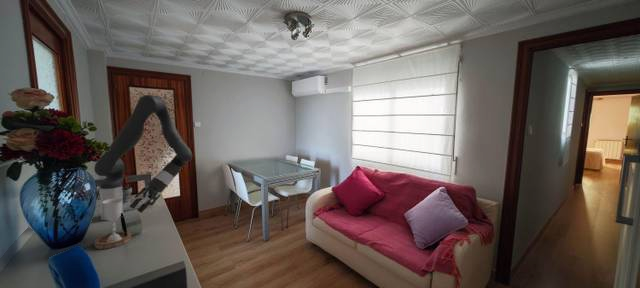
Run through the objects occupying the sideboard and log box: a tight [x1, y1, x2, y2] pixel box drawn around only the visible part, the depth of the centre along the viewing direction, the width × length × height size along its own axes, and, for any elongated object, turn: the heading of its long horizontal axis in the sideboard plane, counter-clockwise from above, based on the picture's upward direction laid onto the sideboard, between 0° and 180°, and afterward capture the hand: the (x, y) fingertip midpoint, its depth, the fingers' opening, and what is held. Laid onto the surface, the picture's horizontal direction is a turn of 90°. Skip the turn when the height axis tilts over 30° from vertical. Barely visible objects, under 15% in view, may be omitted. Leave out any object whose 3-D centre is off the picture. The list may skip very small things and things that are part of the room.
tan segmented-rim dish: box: [93, 230, 132, 250], centre depth 105 cm, size 12×12×2 cm
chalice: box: [102, 198, 124, 243], centre depth 104 cm, size 7×7×18 cm
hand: (135, 209), depth 111 cm, fingers open, 8 cm apart
